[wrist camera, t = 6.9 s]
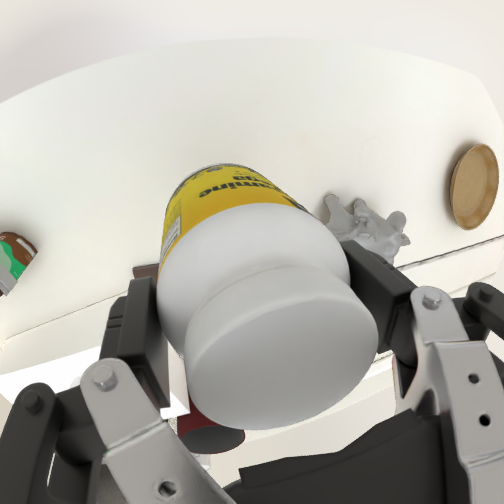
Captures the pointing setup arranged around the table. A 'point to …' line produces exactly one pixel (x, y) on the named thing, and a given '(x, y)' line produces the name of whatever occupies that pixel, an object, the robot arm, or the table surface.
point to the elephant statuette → (367, 228)
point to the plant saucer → (474, 186)
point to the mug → (206, 433)
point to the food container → (13, 259)
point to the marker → (379, 366)
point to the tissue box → (73, 356)
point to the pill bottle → (258, 302)
